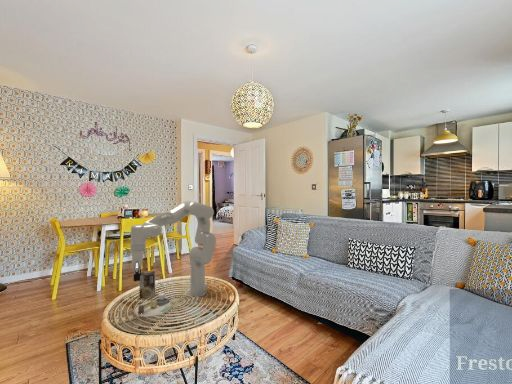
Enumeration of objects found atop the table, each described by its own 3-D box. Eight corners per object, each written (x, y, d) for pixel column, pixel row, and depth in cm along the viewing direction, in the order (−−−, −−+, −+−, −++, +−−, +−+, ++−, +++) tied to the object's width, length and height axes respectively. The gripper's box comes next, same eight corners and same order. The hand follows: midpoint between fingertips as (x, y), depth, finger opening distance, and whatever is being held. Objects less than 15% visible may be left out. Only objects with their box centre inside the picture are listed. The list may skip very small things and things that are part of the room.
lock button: (162, 298, 153) (162, 292, 153) (166, 299, 151) (166, 293, 151) (157, 300, 150) (157, 294, 150) (161, 302, 148) (161, 295, 148)
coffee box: (155, 294, 164) (155, 270, 164) (154, 299, 158) (154, 274, 158) (140, 296, 161) (140, 272, 161) (139, 300, 155) (139, 275, 155)
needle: (154, 304, 147) (154, 298, 147) (158, 306, 145) (158, 299, 145) (136, 313, 137) (136, 306, 137) (140, 314, 135) (140, 308, 135)
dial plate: (156, 299, 158) (156, 294, 158) (178, 307, 148) (178, 302, 148) (127, 312, 141) (127, 307, 141) (149, 322, 131) (149, 316, 131)
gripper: (131, 244, 143) (131, 273, 143) (129, 251, 127) (128, 284, 127) (145, 243, 146) (145, 272, 146) (145, 250, 130) (144, 282, 130)
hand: (137, 277), depth 137 cm, fingers open, 9 cm apart
